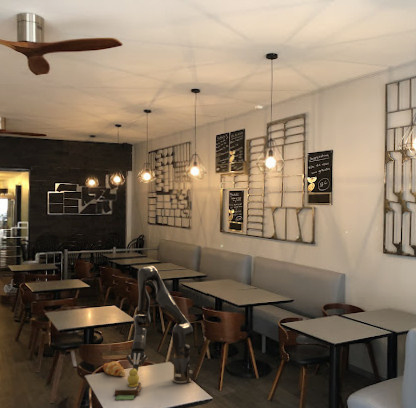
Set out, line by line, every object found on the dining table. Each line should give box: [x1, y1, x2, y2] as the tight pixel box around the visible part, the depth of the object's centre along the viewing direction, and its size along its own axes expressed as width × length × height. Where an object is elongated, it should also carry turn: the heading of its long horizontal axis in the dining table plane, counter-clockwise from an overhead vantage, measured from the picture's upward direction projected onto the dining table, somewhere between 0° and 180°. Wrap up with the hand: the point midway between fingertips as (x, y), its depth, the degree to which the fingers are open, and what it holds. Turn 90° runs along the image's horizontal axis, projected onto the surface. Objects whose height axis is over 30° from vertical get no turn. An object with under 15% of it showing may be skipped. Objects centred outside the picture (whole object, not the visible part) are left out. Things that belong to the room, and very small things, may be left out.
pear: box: [127, 365, 140, 388], centre depth 258 cm, size 6×6×11 cm
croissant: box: [102, 360, 126, 377], centre depth 277 cm, size 21×10×8 cm, turn 50°
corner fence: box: [114, 382, 142, 397], centre depth 249 cm, size 12×11×3 cm
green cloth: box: [115, 395, 136, 401], centre depth 241 cm, size 9×5×1 cm, turn 93°
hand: (135, 371), depth 265 cm, fingers closed
